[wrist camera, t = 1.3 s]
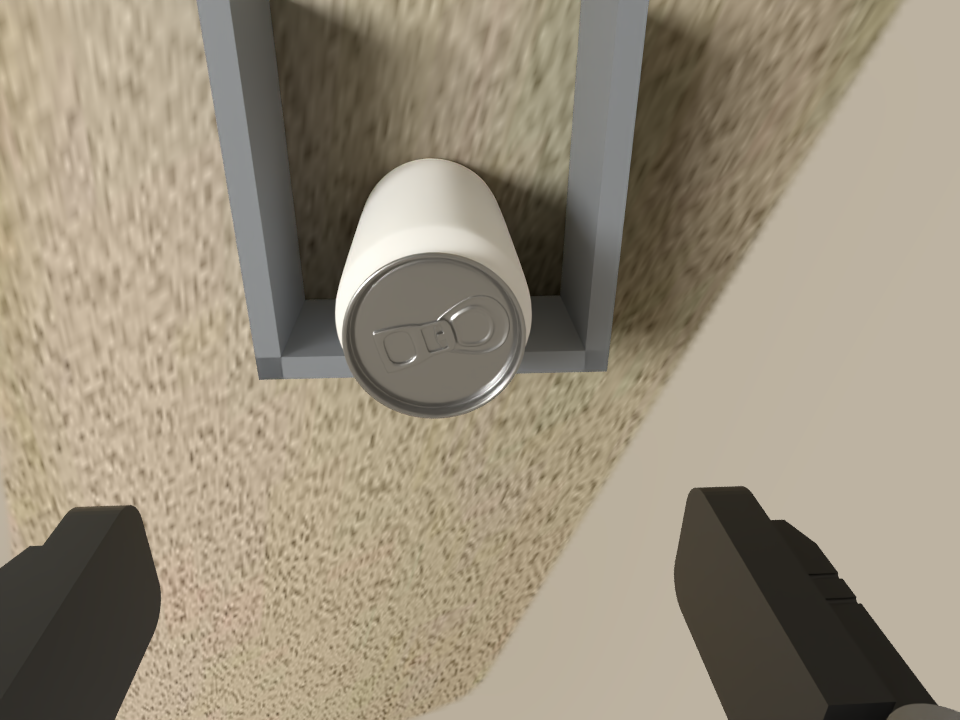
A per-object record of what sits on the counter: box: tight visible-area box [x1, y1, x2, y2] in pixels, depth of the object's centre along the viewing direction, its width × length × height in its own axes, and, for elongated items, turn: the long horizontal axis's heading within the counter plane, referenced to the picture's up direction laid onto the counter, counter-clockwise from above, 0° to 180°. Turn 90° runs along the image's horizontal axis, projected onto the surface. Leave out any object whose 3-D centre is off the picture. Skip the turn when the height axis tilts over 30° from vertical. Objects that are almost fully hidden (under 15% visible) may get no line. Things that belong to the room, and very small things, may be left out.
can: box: [335, 158, 532, 418], centre depth 26 cm, size 6×6×12 cm
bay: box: [197, 0, 649, 380], centre depth 27 cm, size 14×14×6 cm
